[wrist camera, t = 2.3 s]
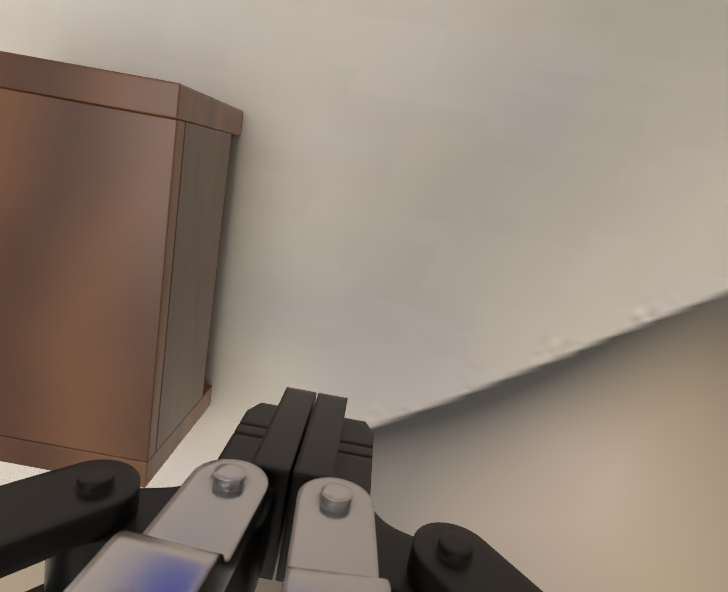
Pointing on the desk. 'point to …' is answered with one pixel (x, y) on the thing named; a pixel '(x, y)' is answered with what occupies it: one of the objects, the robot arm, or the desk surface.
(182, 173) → the small wooden shelf
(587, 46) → the desk surface
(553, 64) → the desk surface
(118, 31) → the desk surface
